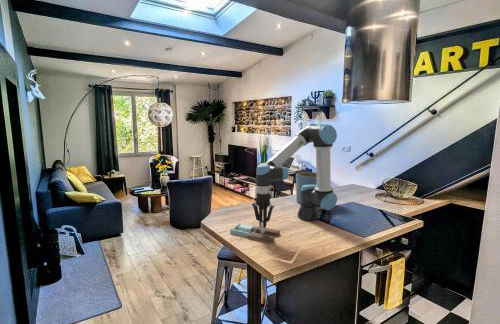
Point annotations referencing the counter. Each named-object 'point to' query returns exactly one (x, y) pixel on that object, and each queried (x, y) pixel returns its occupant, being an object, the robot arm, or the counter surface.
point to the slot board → (264, 235)
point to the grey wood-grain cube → (248, 229)
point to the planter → (304, 182)
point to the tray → (241, 233)
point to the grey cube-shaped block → (241, 227)
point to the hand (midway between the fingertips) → (262, 232)
